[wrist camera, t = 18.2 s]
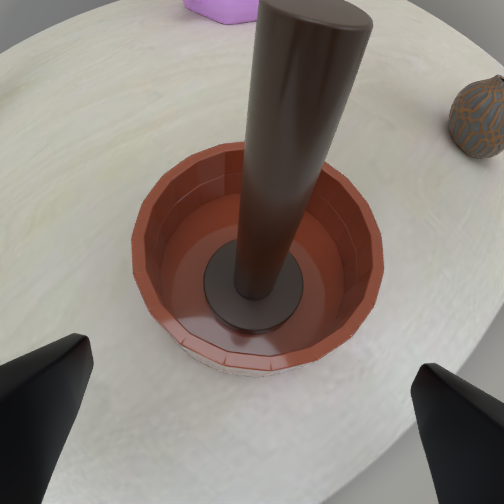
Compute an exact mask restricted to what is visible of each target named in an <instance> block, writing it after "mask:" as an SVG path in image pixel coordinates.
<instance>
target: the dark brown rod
mask: <svg viewBox="0 0 504 504" xmlns="http://www.w3.org/2000/svg"><path fill="white" fill-rule="evenodd" d="M372 29H373V21H372V19H371V17H370V16H369V15H368V14H367V13H366V12H364V11H363V10H361V9H360V8H358V7H356V6H355V5H353V4H351V3H349V2H347V1H344V0H259V4H258V13H257V23H256V32H255V42H254V51H253V61H252V71H251V82H250V92H249V102H248V113H247V124H246V135H245V146H244V158H243V169H242V181H241V193H240V205H239V218H238V230H237V239H235V240H232V241H230V242H228V243H226V244H224V245H223V246H222V247H220V248H219V249H218V250H217V251H216V252H215V253H214V254H213V255H212V257H211V258H210V260H209V262H208V264H207V266H206V269H205V272H204V278H203V286H204V293H205V298H206V301H207V304H208V306H209V308H210V310H211V312H212V313H213V315H214V316H215V317H216V318H217V319H218V320H219V321H220V322H221V323H222V324H224V325H225V326H226V327H228V328H230V329H232V330H234V331H237V332H241V333H245V334H261V333H266V332H269V331H272V330H274V329H276V328H278V327H280V326H281V325H283V324H284V323H285V322H286V321H287V320H288V319H289V318H290V317H291V316H292V314H293V313H294V312H295V310H296V309H297V307H298V305H299V303H300V301H301V298H302V294H303V276H302V272H301V269H300V267H299V265H298V263H297V261H296V259H295V258H294V257H293V255H292V254H291V253H290V252H289V249H290V247H291V244H292V242H293V239H294V237H295V234H296V232H297V229H298V227H299V224H300V222H301V220H302V217H303V215H304V212H305V210H306V207H307V205H308V202H309V200H310V197H311V195H312V192H313V189H314V187H315V184H316V182H317V179H318V177H319V174H320V172H321V169H322V166H323V164H324V161H325V159H326V156H327V153H328V151H329V148H330V146H331V143H332V140H333V138H334V135H335V132H336V130H337V127H338V124H339V122H340V119H341V116H342V114H343V111H344V108H345V105H346V103H347V100H348V97H349V94H350V92H351V89H352V86H353V83H354V81H355V78H356V75H357V72H358V69H359V66H360V64H361V61H362V58H363V55H364V52H365V49H366V46H367V43H368V41H369V38H370V35H371V32H372Z"/></svg>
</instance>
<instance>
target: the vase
mask: <svg viewBox="0 0 504 504" xmlns="http://www.w3.org/2000/svg"><path fill="white" fill-rule="evenodd" d="M449 127H450V131H451V135H452V137H453V139H454V141H455V142H456V144H457V145H458V146H459V147H460V148H461V149H462V150H463V151H464V152H465V153H467V154H468V155H470V156H472V157H475V158H490V157H493V156H495V155H497V154H499V153H500V152H502V151H503V150H504V77H503V76H501V75H496V76H494V77H493V78H490V79H487V80H481V81H477V82H473V83H471V84H469V85H467V86H466V87H465V88H463V89H462V90H461V91H460V92H459V94H458V95H457V96H456V98H455V100H454V102H453V104H452V106H451V109H450V114H449Z"/></svg>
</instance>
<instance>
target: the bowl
mask: <svg viewBox="0 0 504 504" xmlns="http://www.w3.org/2000/svg"><path fill="white" fill-rule="evenodd" d="M244 146H245V142H235V143H226V144H222V145H221V144H220V145H217V146H214V147H212V148H209V149H206V150H203V151H201V152H198V153H195V154H193V155H191V156H189V157H187V158H186V159H184V160H183V161H182V162H180V163H179V164H177V165H176V166H175V167H173V168H172V169H171V170H169V171H168V172H167V173H165V174H164V175H163V176H162V177H161V178H160V179H159V181H158V182H157V183H156V185H155V186H154V187H153V189H152V190H151V191H150V193H149V194H148V195H147V197H146V198H145V200H144V201H143V203H142V205H141V208H140V211H139V214H138V217H137V220H136V223H135V227H134V230H133V233H132V238H131V245H132V267H133V275H134V279H135V281H136V283H137V286H138V288H139V290H140V293H141V295H142V297H143V300H144V302H145V304H146V306H147V309H148V311H149V312H150V314H151V315H152V316H153V318H154V319H155V320H156V321H157V322H158V323H159V324H160V325H161V327H162V328H163V329H164V330H165V331H166V332H167V333H168V334H169V335H170V336H171V337H172V338H173V339H174V340H175V341H176V342H177V343H178V344H179V345H180V346H181V347H182V348H183V349H184V350H185V351H186V352H187V353H188V354H189V355H190V356H191V357H192V358H194V359H196V360H198V361H200V362H202V363H204V364H205V365H207V366H209V367H212V368H214V369H217V370H219V371H221V372H225V373H229V374H234V375H240V376H250V377H252V376H254V377H264V376H269V375H274V374H279V373H283V372H287V371H291V370H295V369H298V368H300V367H303V366H305V365H307V364H310V363H312V362H315V361H317V360H319V359H320V358H322V357H324V356H325V355H327V354H328V353H330V352H331V351H333V350H334V349H336V348H337V347H339V346H340V345H342V344H343V343H345V342H346V341H348V340H349V339H350V338H351V337H352V336H353V335H354V334H355V333H356V331H357V330H358V329H359V327H360V326H361V324H362V323H363V322H364V320H365V319H366V317H367V316H368V315H369V313H370V312H371V310H372V309H373V307H374V305H375V303H376V299H377V295H378V292H379V288H380V284H381V281H382V277H383V273H384V261H383V248H382V237H381V233H380V231H379V228H378V226H377V223H376V221H375V218H374V216H373V214H372V211H371V209H370V207H369V205H368V203H367V202H366V200H365V199H364V198H363V197H362V195H361V194H360V193H359V192H358V190H357V189H356V188H355V187H354V185H353V184H352V183H351V182H350V181H349V179H348V178H346V177H345V176H344V175H343V174H341V173H340V172H338V171H337V170H336V169H334V168H333V167H332V166H330V165H329V164H327V163H326V162H325V161H324V164H323V166H322V169H321V172H320V174H319V177H318V179H317V182H316V184H315V187H314V189H313V192H312V195H311V197H310V200H309V202H308V205H307V207H306V210H305V212H304V215H303V217H302V220H301V222H300V224H299V227H298V229H297V232H296V234H295V237H294V239H293V242H292V244H291V247H290V249H289V252H290V253H291V254H292V255H293V257H294V258H295V259H296V261H297V263H298V265H299V267H300V269H301V272H302V276H303V294H302V298H301V301H300V303H299V305H298V307H297V309H296V310H295V312H294V313H293V314H292V316H291V317H290V318H289V319H288V320H287V321H286V322H285V323H284V324H283V325H281V326H280V327H278V328H276V329H274V330H272V331H269V332H266V333H261V334H245V333H241V332H237V331H234V330H232V329H230V328H228V327H226V326H225V325H224V324H222V323H221V322H220V321H219V320H218V319H217V318H216V317H215V316H214V315H213V313H212V312H211V310H210V308H209V306H208V304H207V301H206V298H205V293H204V286H203V278H204V272H205V269H206V266H207V264H208V262H209V260H210V258H211V257H212V255H213V254H214V253H215V252H216V251H217V250H218V249H219V248H220V247H222V246H223V245H224V244H226V243H228V242H230V241H232V240H235V239H237V230H238V218H239V205H240V193H241V181H242V169H243V158H244Z"/></svg>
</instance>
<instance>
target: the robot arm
mask: <svg viewBox="0 0 504 504" xmlns="http://www.w3.org/2000/svg"><path fill="white" fill-rule="evenodd" d="M93 364H94V362H93V356H92V351H91V345H90V341H89V338H88V337H87V336H86V335H81V334H77V333H73V334H70V335H68V336H66V337H64V338H61V339H59V340H57V341H55V342H52V343H50V344H48V345H46V346H43V347H41V348H39V349H37V350H34V351H32V352H30V353H28V354H25V355H23V356H21V357H18V358H16V359H14V360H12V361H9V362H7V363H5V364H3V365H0V504H41V503H42V500H43V497H44V495H45V492H46V489H47V487H48V484H49V481H50V479H51V476H52V474H53V471H54V468H55V466H56V463H57V461H58V459H59V456H60V454H61V451H62V449H63V446H64V444H65V442H66V439H67V437H68V435H69V432H70V430H71V428H72V426H73V423H74V421H75V419H76V416H77V414H78V411H79V408H80V406H81V402H82V399H83V396H84V393H85V390H86V387H87V384H88V381H89V378H90V375H91V373H92V370H93ZM411 397H412V401H413V406H414V410H415V415H416V419H417V424H418V429H419V433H420V437H421V441H422V444H423V447H424V451H425V454H426V457H427V461H428V464H429V468H430V471H431V475H432V478H433V482H434V486H435V490H436V494H437V498H438V502H439V504H504V403H502V402H501V401H499V400H497V399H496V398H494V397H492V396H491V395H489V394H487V393H485V392H484V391H482V390H480V389H479V388H477V387H475V386H473V385H472V384H470V383H468V382H467V381H465V380H463V379H462V378H460V377H458V376H457V375H455V374H453V373H451V372H450V371H448V370H446V369H445V368H443V367H441V366H440V365H438V364H436V363H425V364H423V365H422V366H421V367H420V369H419V371H418V373H417V375H416V377H415V379H414V381H413V383H412V386H411Z"/></svg>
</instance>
